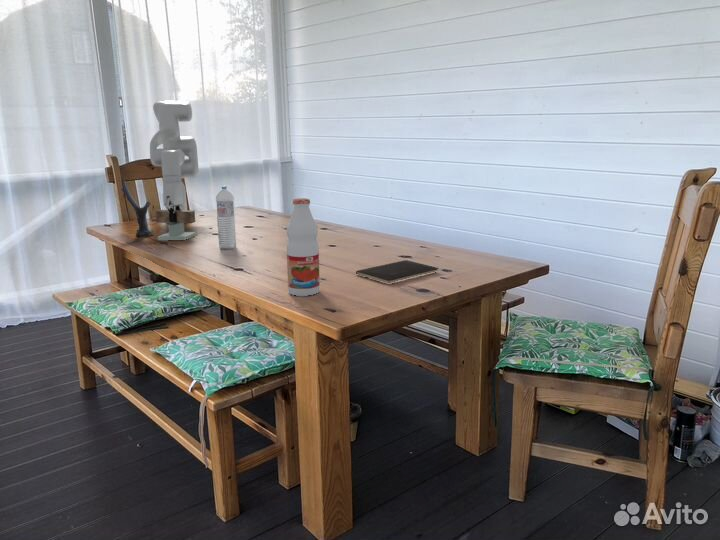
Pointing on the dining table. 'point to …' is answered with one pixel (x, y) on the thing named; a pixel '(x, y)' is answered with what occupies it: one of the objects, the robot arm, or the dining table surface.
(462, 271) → the dining table surface
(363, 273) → the hardcover book
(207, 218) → the dining table surface
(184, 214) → the walnut bar
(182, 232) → the block
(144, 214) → the antler
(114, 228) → the dining table surface
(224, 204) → the water bottle
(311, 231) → the fruit juice
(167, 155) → the robot arm
